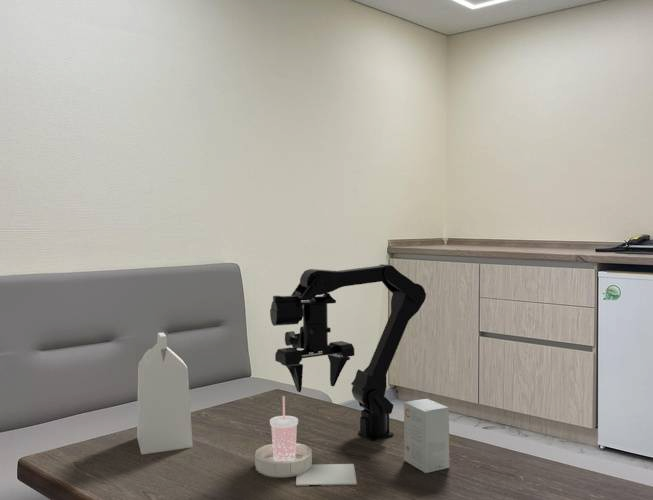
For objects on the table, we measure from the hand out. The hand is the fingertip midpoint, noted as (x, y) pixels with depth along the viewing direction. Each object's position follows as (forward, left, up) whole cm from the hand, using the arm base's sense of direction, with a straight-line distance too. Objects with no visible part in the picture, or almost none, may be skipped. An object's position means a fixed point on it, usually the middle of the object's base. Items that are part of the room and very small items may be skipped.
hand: (316, 388), depth 143 cm
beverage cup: (+13, +8, -12) cm, 19 cm away
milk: (+30, -21, -13) cm, 39 cm away
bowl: (+13, +8, -13) cm, 20 cm away
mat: (+8, +17, -13) cm, 23 cm away
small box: (-13, +24, -13) cm, 30 cm away
